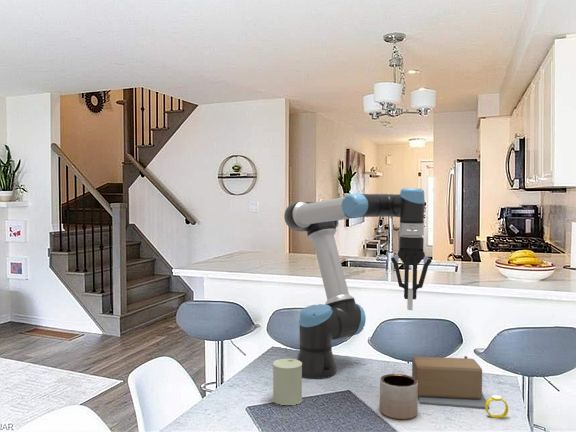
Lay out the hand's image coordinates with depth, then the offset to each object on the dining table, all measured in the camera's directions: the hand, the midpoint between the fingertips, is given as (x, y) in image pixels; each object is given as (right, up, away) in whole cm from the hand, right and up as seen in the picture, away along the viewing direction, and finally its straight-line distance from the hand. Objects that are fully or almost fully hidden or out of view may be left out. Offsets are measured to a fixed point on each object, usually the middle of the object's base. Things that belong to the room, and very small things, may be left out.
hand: (409, 309), depth 158 cm
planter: (-7, -28, -15) cm, 32 cm away
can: (-40, -27, -6) cm, 48 cm away
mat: (+12, -27, -3) cm, 30 cm away
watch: (+20, -28, -18) cm, 39 cm away
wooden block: (+1, -21, -1) cm, 21 cm away
